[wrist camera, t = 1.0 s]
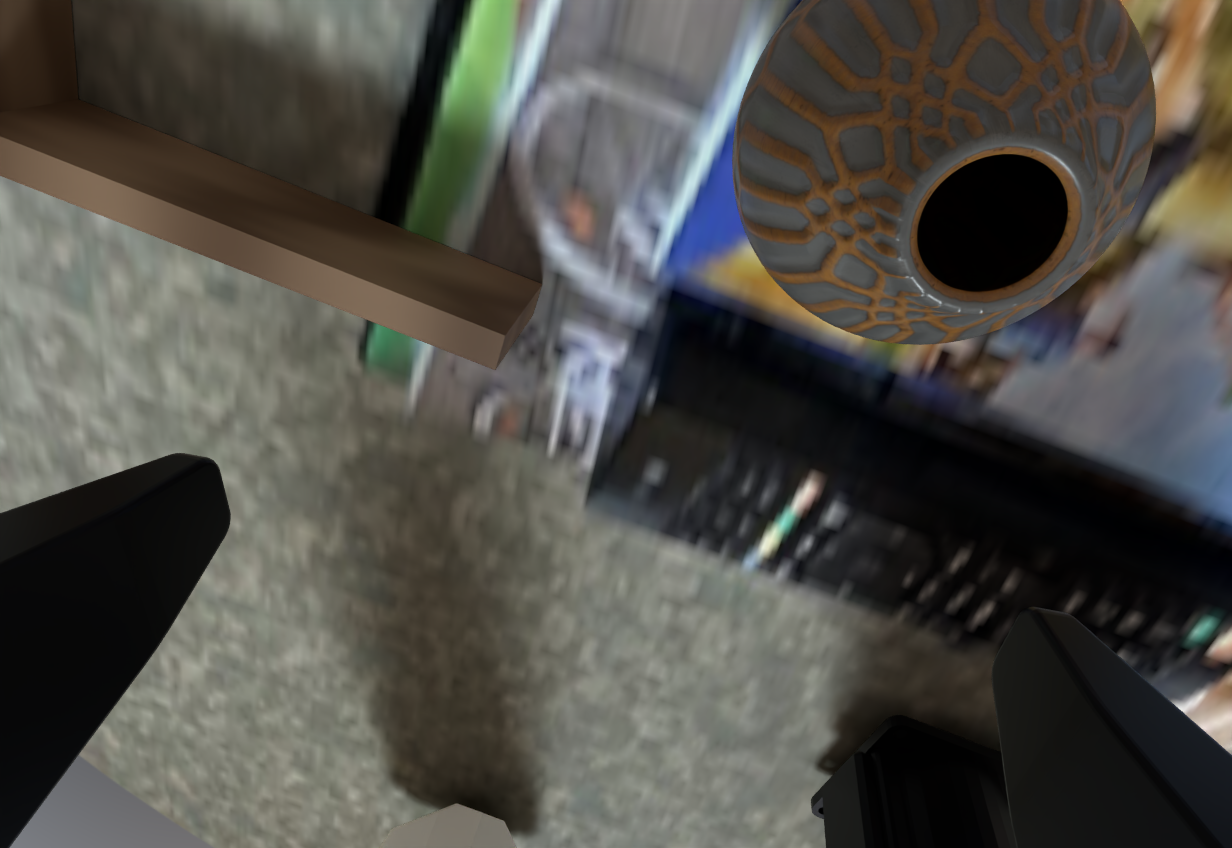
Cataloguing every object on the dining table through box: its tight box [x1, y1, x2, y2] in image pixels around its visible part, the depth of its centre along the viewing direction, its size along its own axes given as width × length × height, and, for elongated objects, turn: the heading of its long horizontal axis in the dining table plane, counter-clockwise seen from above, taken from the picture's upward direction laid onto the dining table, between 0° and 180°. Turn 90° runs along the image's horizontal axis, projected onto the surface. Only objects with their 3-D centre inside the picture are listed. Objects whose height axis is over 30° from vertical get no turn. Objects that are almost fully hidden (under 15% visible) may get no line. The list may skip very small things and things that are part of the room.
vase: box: [732, 0, 1156, 345], centre depth 13 cm, size 7×7×9 cm
